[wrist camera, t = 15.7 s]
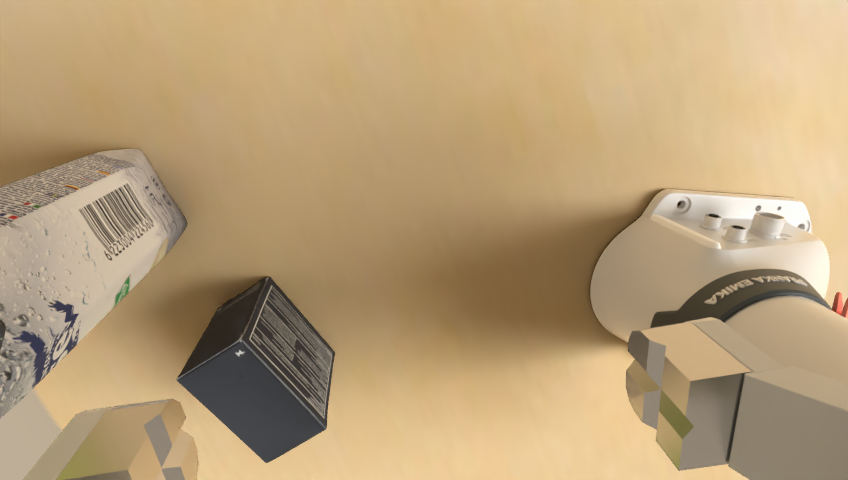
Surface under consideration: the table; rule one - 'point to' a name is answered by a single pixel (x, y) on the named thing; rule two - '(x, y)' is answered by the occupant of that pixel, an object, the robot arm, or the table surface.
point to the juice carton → (74, 256)
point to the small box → (263, 371)
